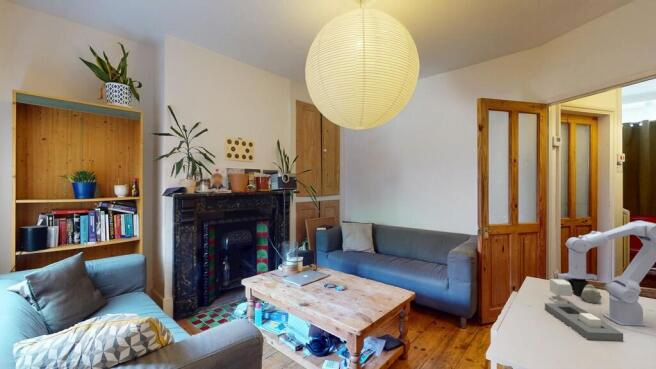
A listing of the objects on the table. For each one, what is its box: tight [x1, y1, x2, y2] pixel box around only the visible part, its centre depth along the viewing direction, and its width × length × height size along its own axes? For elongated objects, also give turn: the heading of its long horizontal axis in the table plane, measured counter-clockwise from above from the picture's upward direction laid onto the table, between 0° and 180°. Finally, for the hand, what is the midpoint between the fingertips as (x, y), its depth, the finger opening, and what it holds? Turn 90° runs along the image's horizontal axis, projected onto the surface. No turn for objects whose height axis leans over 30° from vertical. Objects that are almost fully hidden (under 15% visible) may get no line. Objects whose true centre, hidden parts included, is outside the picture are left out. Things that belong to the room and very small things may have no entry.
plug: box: [579, 312, 602, 328], centre depth 109 cm, size 4×5×6 cm
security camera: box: [548, 278, 573, 304], centre depth 134 cm, size 6×7×10 cm
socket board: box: [544, 302, 624, 342], centre depth 114 cm, size 12×24×3 cm, turn 174°
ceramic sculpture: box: [572, 281, 602, 304], centre depth 136 cm, size 11×9×15 cm
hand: (577, 295), depth 120 cm, fingers closed
